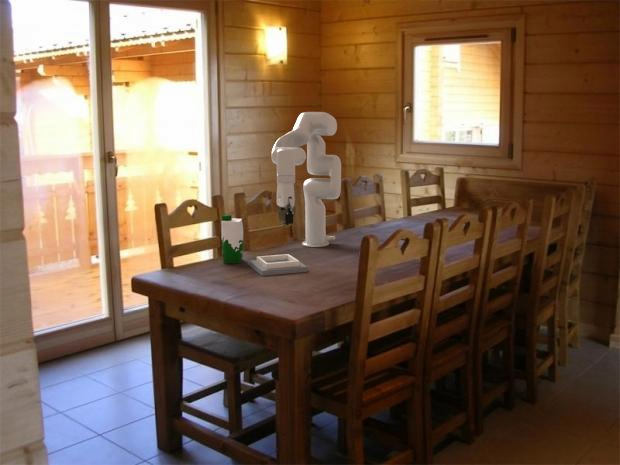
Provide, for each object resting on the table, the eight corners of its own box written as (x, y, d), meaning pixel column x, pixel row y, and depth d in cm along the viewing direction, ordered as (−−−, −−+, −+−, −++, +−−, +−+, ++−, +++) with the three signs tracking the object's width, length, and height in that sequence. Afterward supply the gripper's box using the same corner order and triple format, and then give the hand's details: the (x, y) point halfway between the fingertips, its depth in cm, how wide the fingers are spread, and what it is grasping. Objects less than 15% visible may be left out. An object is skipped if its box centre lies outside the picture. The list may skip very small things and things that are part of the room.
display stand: (292, 261, 307) (292, 252, 306) (307, 271, 289) (307, 261, 289) (249, 265, 301) (248, 255, 300) (261, 275, 283) (261, 265, 282)
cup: (274, 226, 296) (273, 207, 294) (282, 224, 302) (282, 205, 301) (289, 228, 292) (289, 208, 291) (298, 225, 299) (298, 206, 297)
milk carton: (223, 259, 312) (222, 213, 309) (244, 259, 312) (243, 213, 308) (221, 263, 304) (219, 216, 300) (242, 263, 304) (241, 216, 300)
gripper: (270, 177, 300) (271, 219, 303) (283, 181, 284) (284, 226, 287) (287, 176, 303) (288, 218, 306) (301, 180, 287) (302, 225, 290)
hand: (286, 222), depth 297 cm, fingers closed on cup, 6 cm apart
